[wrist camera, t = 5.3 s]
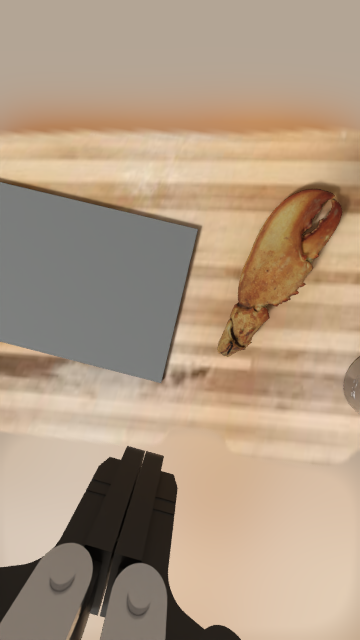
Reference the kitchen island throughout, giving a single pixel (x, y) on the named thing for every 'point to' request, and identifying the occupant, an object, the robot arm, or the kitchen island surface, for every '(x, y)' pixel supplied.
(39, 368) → the kitchen island surface
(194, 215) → the kitchen island surface
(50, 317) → the mat
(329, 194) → the crab claw
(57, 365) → the kitchen island surface
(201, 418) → the kitchen island surface
